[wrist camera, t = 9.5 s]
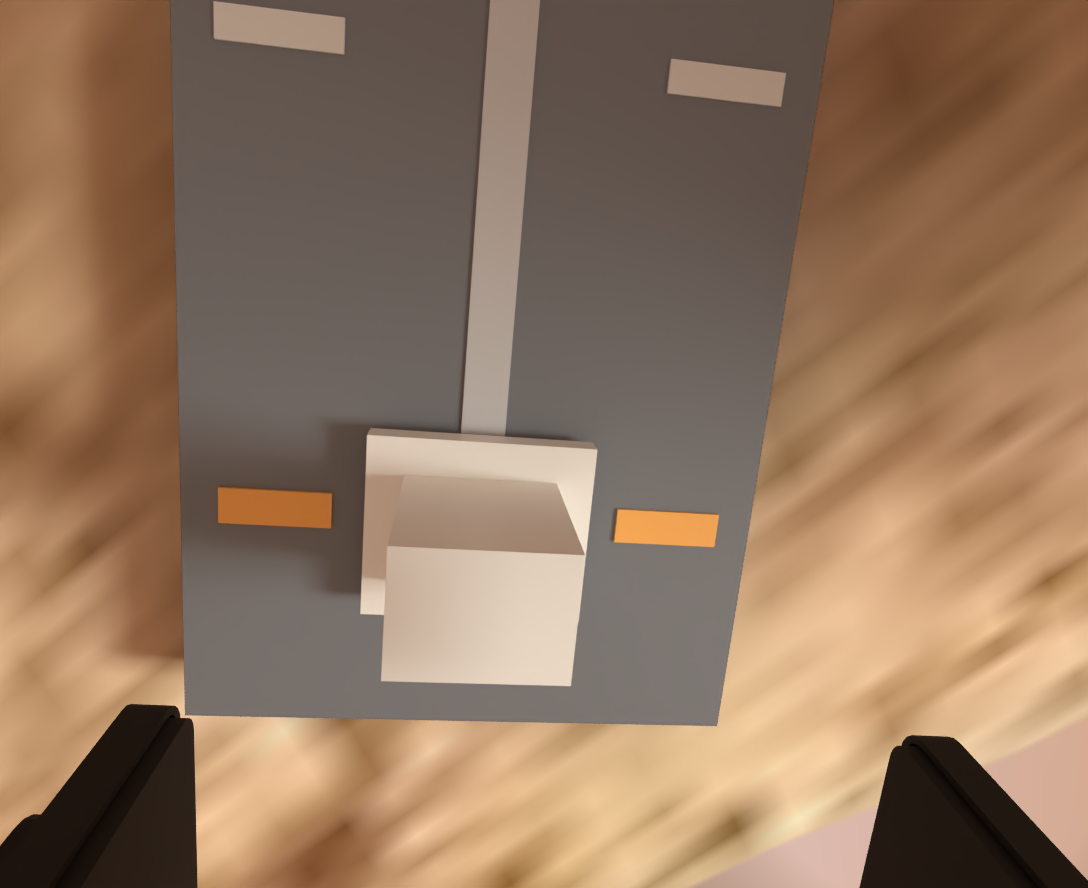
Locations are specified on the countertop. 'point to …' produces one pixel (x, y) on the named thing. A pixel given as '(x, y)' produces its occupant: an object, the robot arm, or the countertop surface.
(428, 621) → the fader
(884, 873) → the robot arm
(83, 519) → the countertop surface
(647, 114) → the console
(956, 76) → the countertop surface
